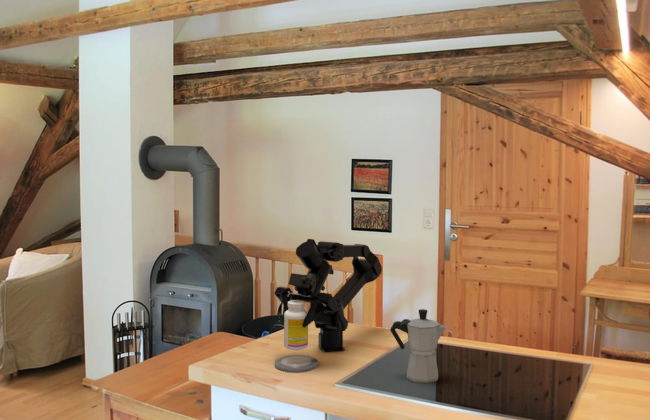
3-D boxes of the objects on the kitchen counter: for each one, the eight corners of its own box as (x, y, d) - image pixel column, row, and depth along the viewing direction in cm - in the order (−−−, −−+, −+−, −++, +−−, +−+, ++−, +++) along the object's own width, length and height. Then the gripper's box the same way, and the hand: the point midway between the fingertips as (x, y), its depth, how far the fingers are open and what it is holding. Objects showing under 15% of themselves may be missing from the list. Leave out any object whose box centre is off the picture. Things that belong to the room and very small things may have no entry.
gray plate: (310, 356, 180) (310, 352, 179) (323, 369, 168) (323, 365, 168) (270, 360, 176) (270, 356, 176) (280, 374, 165) (280, 370, 164)
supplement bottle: (312, 348, 171) (312, 303, 169) (291, 352, 167) (291, 306, 166) (300, 341, 176) (300, 297, 175) (279, 345, 173) (279, 300, 172)
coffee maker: (448, 373, 165) (449, 307, 163) (445, 385, 156) (446, 315, 155) (392, 368, 169) (392, 304, 167) (387, 380, 160) (387, 311, 159)
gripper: (277, 258, 178) (253, 304, 170) (331, 265, 168) (308, 314, 160) (294, 280, 185) (271, 325, 177) (347, 288, 175) (325, 336, 167)
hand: (293, 324), depth 170 cm, fingers closed on supplement bottle, 7 cm apart
